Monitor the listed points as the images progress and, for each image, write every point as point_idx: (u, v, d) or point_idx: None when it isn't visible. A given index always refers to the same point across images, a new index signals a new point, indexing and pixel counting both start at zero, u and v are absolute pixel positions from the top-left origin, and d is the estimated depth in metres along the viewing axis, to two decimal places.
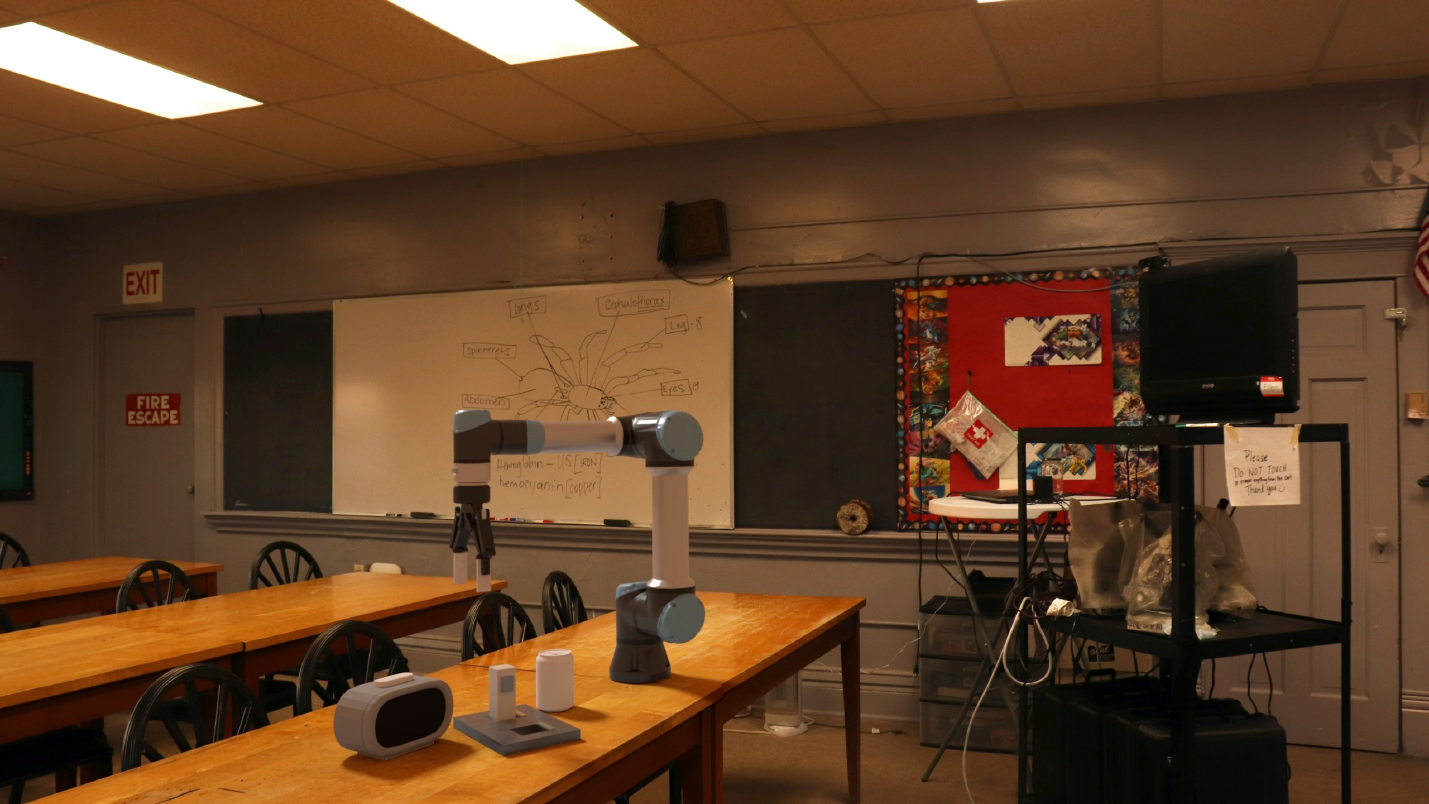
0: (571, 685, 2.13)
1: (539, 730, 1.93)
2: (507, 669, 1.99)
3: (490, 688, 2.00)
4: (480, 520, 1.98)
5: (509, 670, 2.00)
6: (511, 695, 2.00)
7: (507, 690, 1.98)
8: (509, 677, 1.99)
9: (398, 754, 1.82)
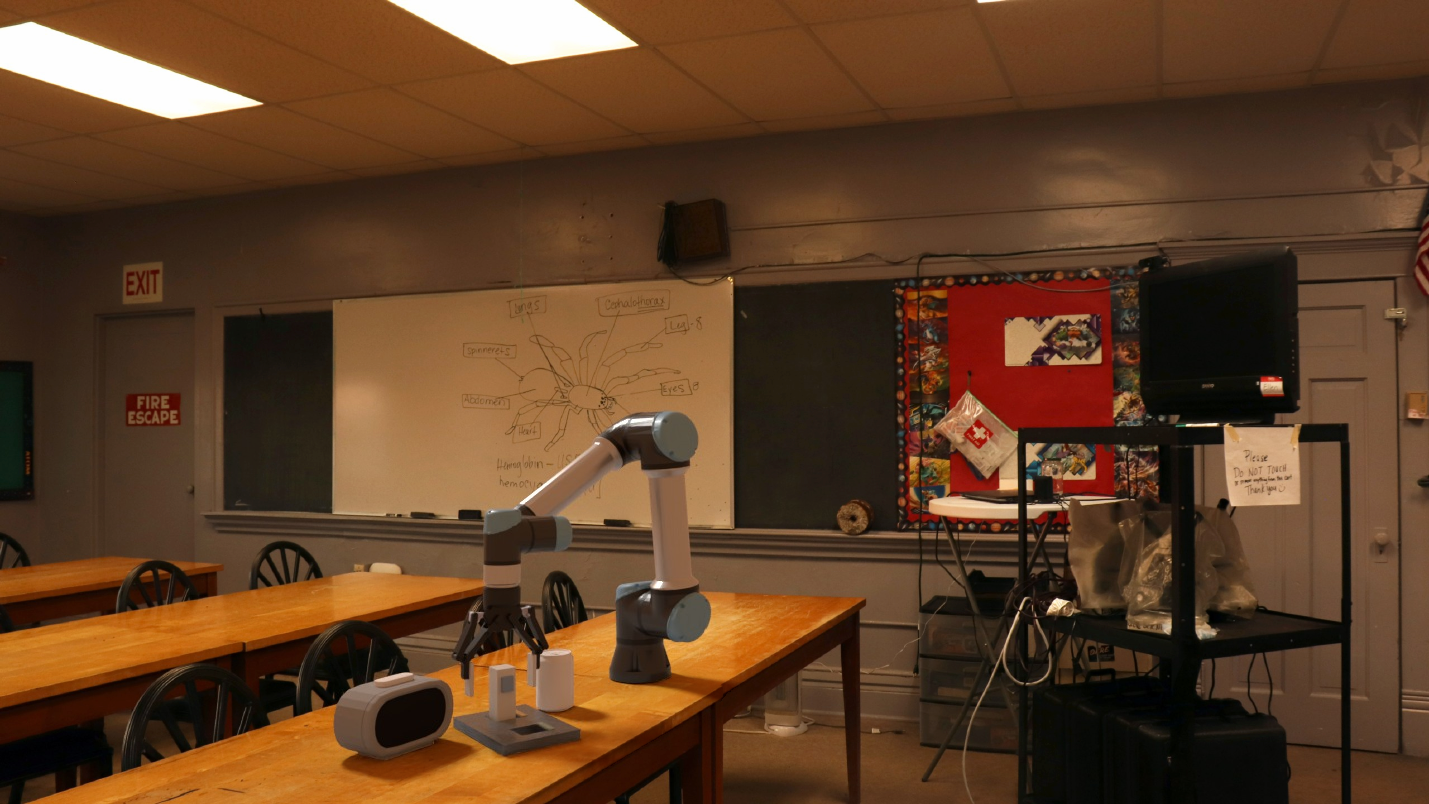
0: (571, 685, 2.13)
1: (539, 730, 1.93)
2: (507, 669, 1.99)
3: (490, 688, 2.00)
4: (467, 622, 1.98)
5: (509, 670, 2.00)
6: (511, 695, 2.00)
7: (507, 690, 1.98)
8: (509, 677, 1.99)
9: (398, 754, 1.82)
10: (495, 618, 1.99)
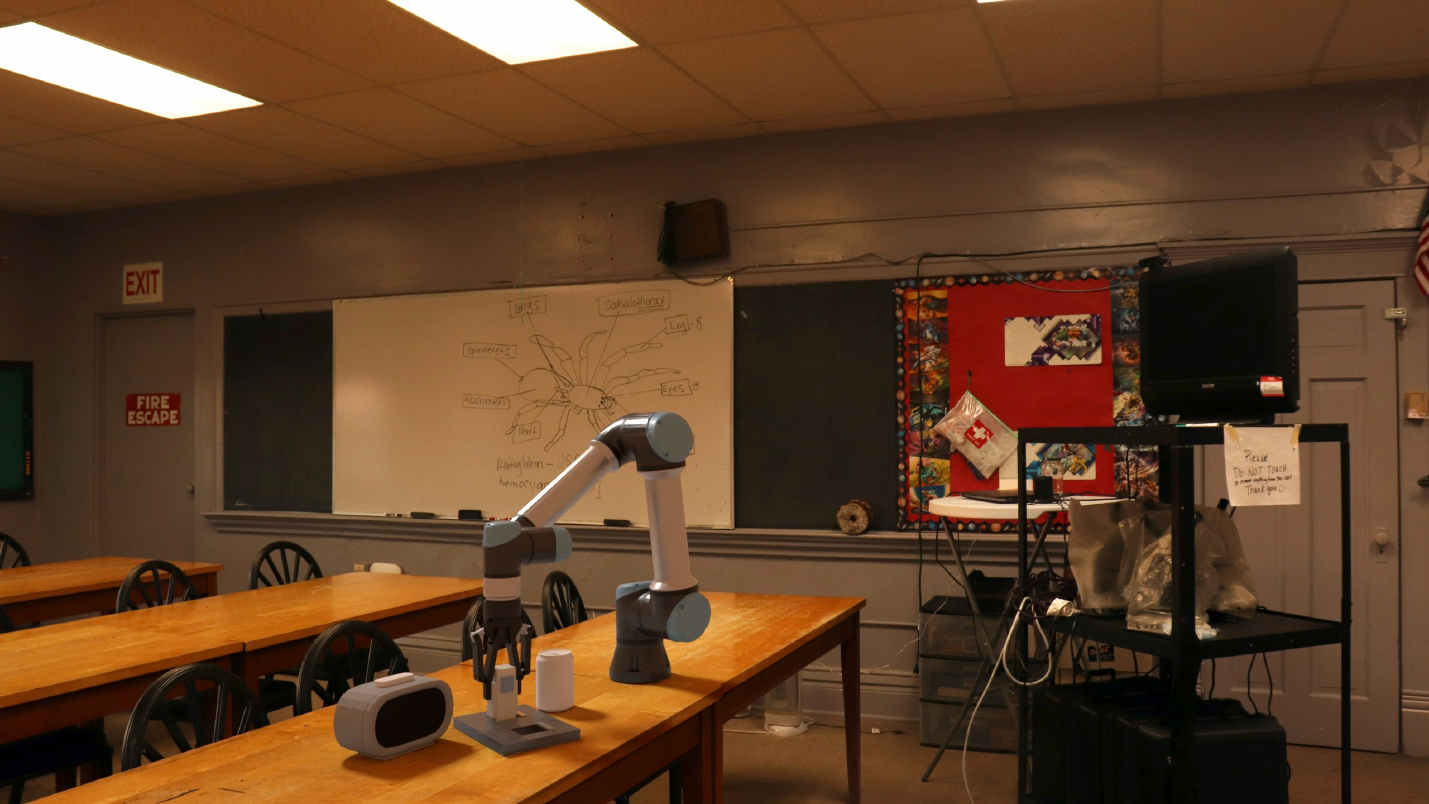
0: (571, 685, 2.13)
1: (539, 730, 1.93)
2: (507, 669, 1.99)
3: None
4: (473, 644, 1.98)
5: (509, 670, 1.99)
6: (511, 695, 2.00)
7: (507, 690, 1.98)
8: (509, 677, 1.99)
9: (398, 754, 1.82)
10: (496, 633, 1.99)
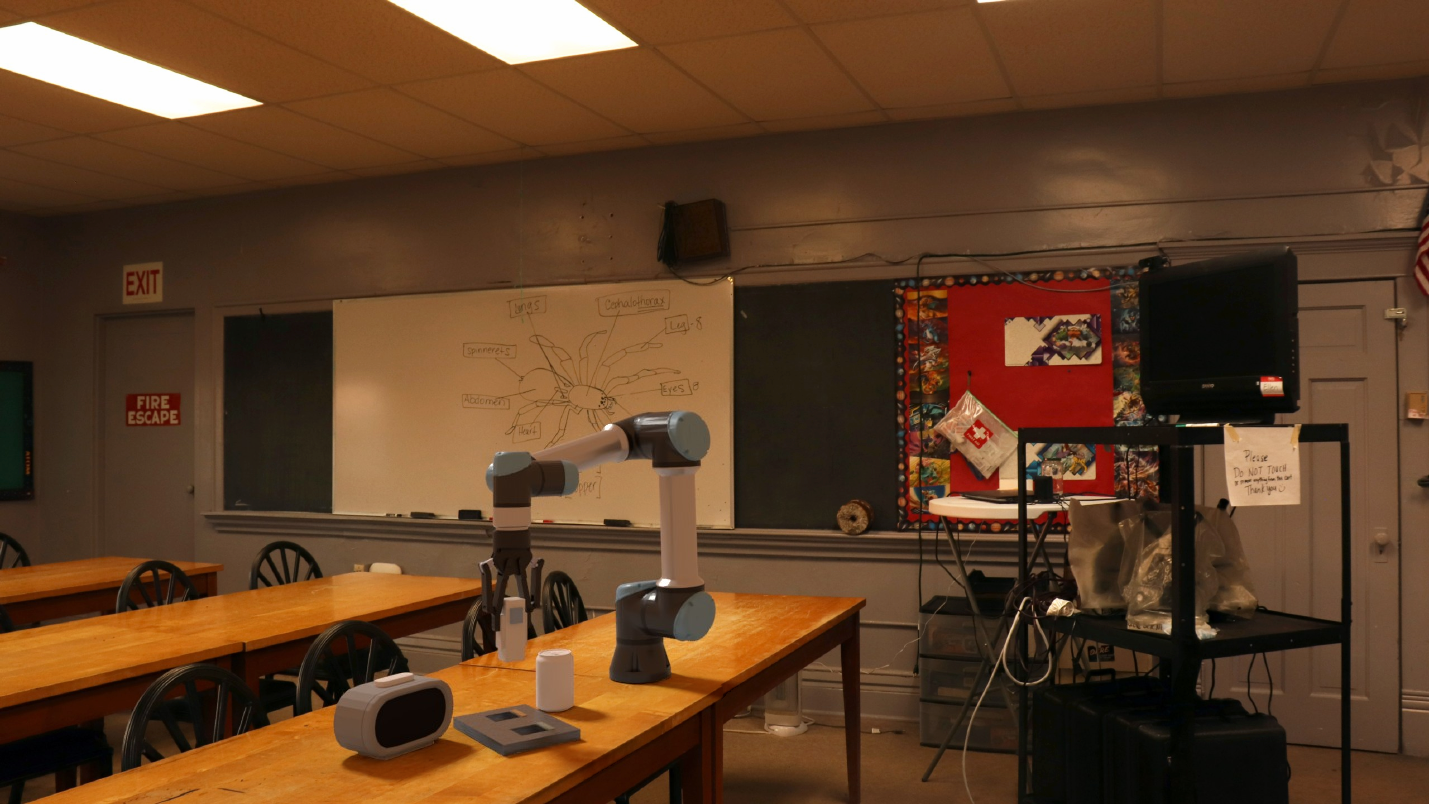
0: (571, 685, 2.13)
1: (539, 730, 1.93)
2: (516, 600, 1.96)
3: None
4: (481, 574, 1.95)
5: (518, 602, 1.96)
6: (520, 627, 1.96)
7: (516, 622, 1.94)
8: (518, 608, 1.95)
9: (398, 754, 1.82)
10: (505, 563, 1.95)
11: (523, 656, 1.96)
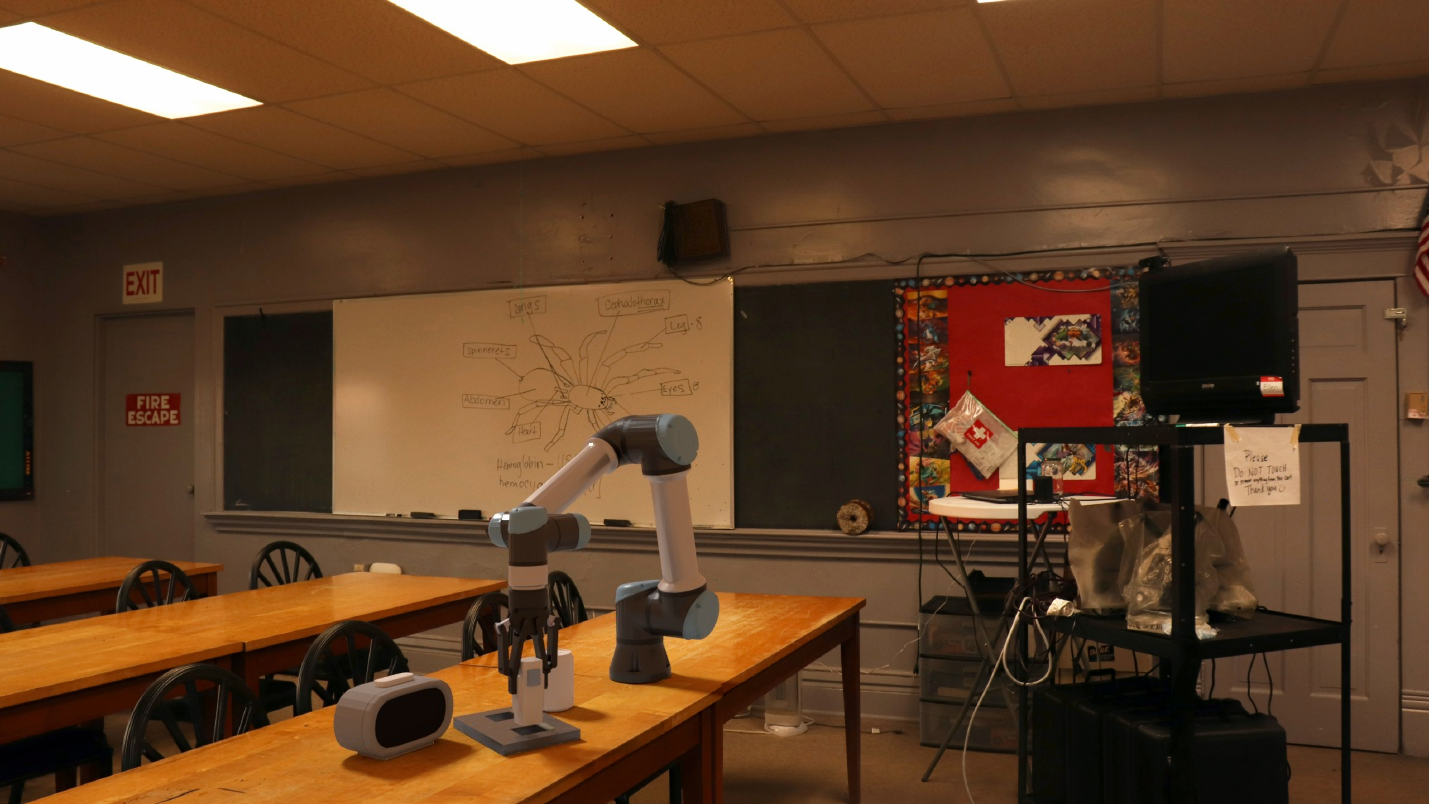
0: (571, 685, 2.13)
1: (539, 730, 1.93)
2: (533, 662, 1.90)
3: None
4: (497, 635, 1.89)
5: (535, 663, 1.90)
6: (537, 689, 1.90)
7: (534, 684, 1.89)
8: (536, 670, 1.89)
9: (398, 754, 1.82)
10: (522, 623, 1.89)
11: (540, 719, 1.90)
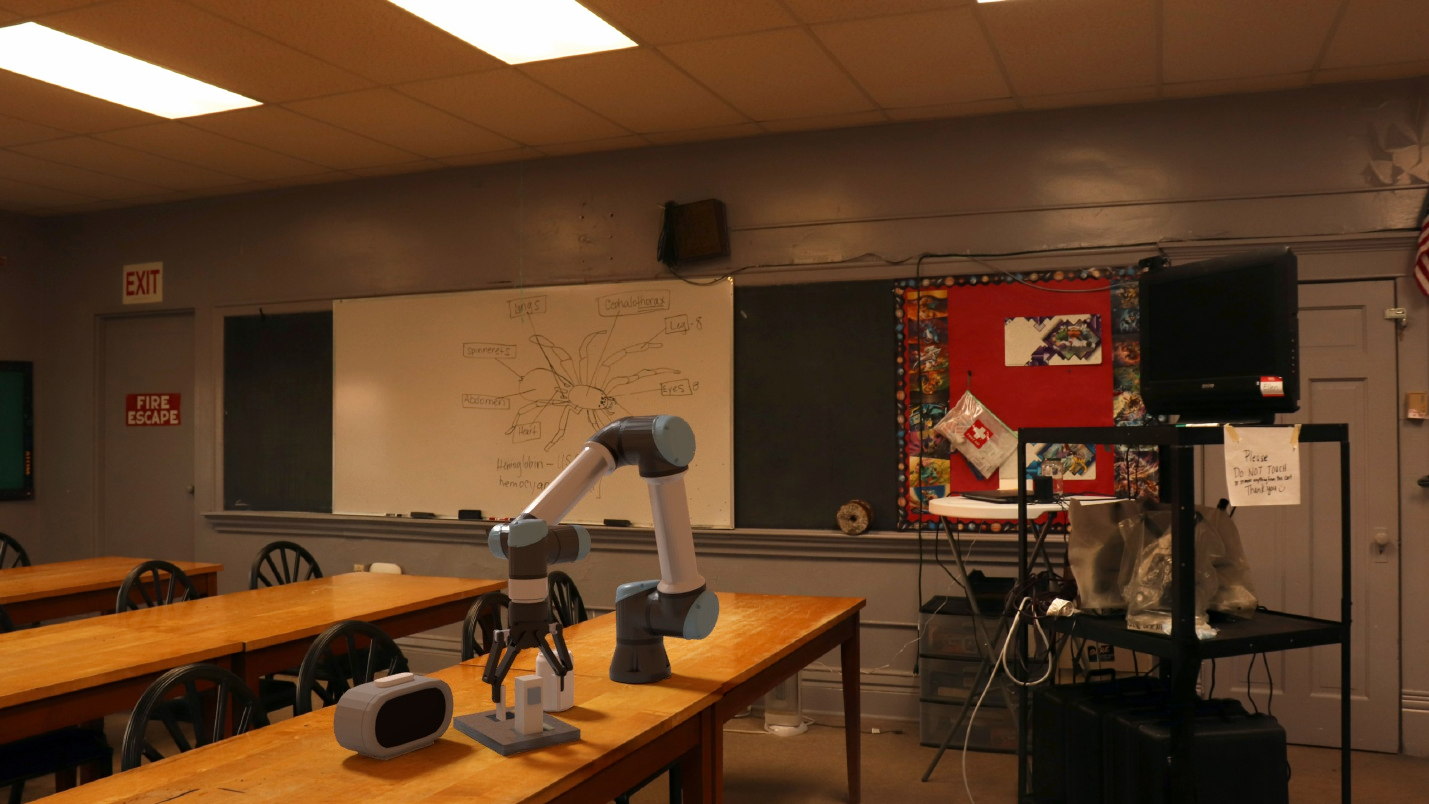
0: (571, 685, 2.13)
1: None
2: (534, 680, 1.90)
3: (516, 700, 1.91)
4: (493, 642, 1.88)
5: (536, 681, 1.90)
6: (538, 707, 1.90)
7: (534, 702, 1.89)
8: (536, 688, 1.89)
9: (398, 754, 1.82)
10: (522, 635, 1.89)
11: None
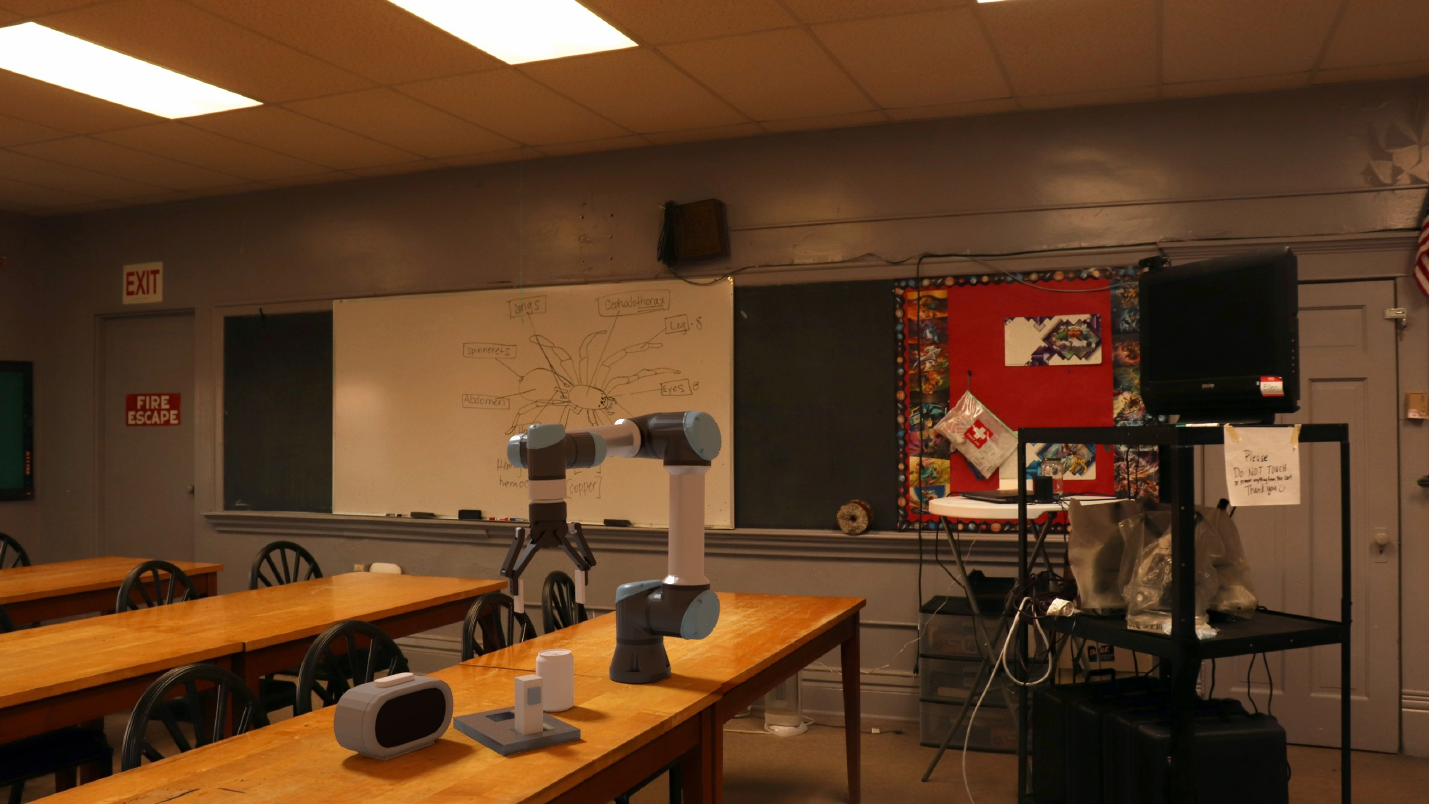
0: (571, 685, 2.13)
1: None
2: (534, 680, 1.90)
3: (516, 700, 1.91)
4: (514, 539, 1.94)
5: (536, 681, 1.90)
6: (538, 707, 1.90)
7: (534, 702, 1.89)
8: (536, 688, 1.89)
9: (398, 754, 1.82)
10: (542, 534, 1.95)
11: None
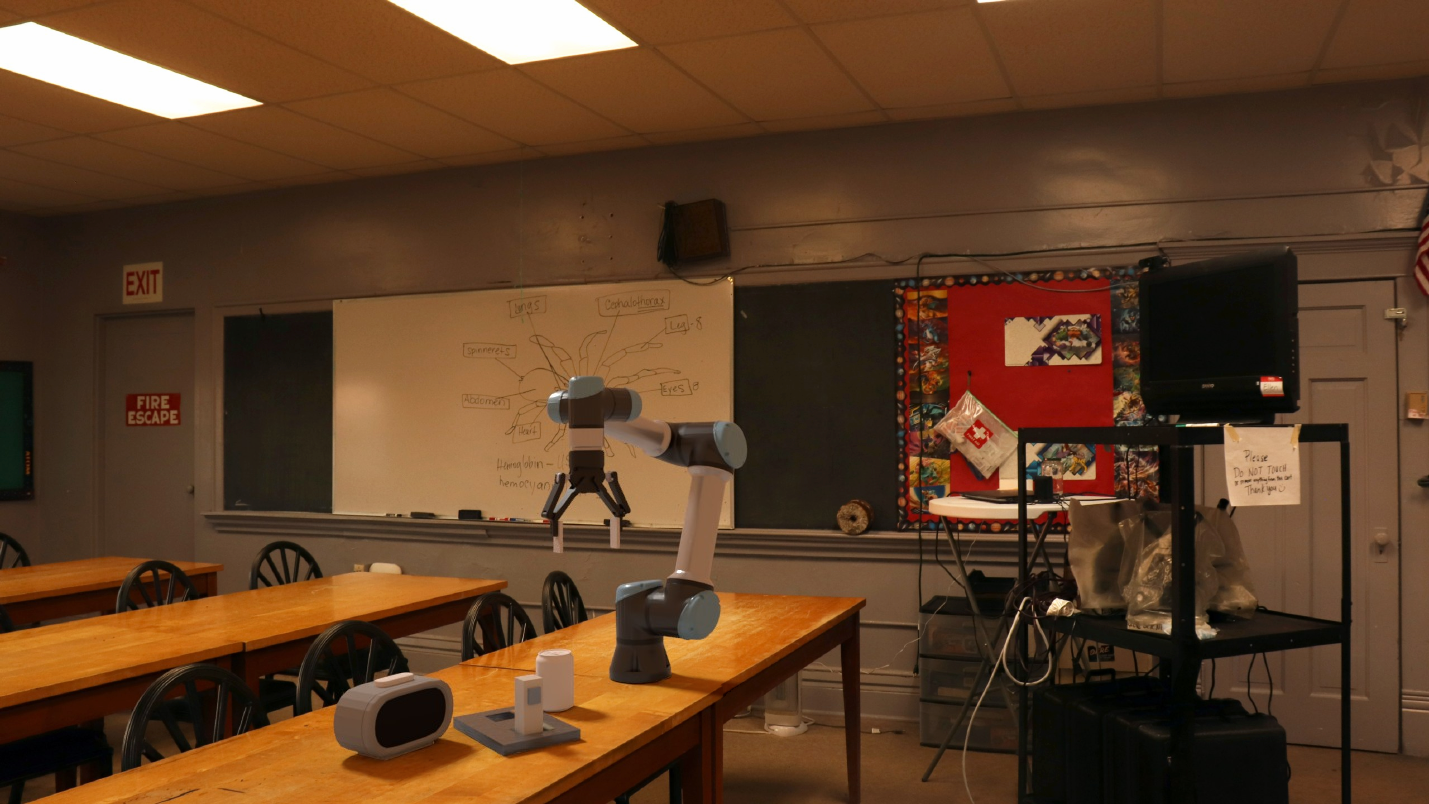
0: (571, 685, 2.13)
1: None
2: (534, 680, 1.90)
3: (516, 700, 1.91)
4: (555, 483, 2.05)
5: (536, 681, 1.90)
6: (538, 707, 1.90)
7: (534, 702, 1.89)
8: (536, 688, 1.89)
9: (398, 754, 1.82)
10: (581, 479, 2.06)
11: None
